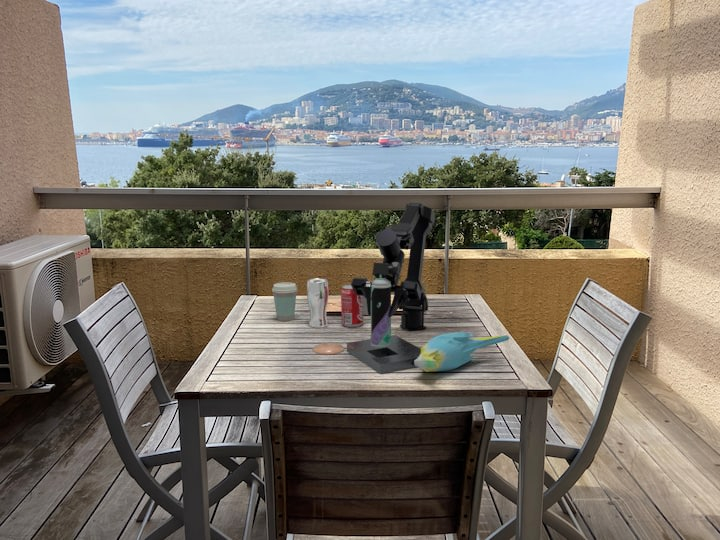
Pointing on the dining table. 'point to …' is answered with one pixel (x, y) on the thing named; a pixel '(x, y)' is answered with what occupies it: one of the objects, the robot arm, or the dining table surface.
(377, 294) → the spray can
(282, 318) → the coffee cup
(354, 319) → the soda can
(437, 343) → the decorative bird
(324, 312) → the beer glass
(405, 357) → the square hole plate
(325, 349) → the terracotta coaster
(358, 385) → the dining table surface
